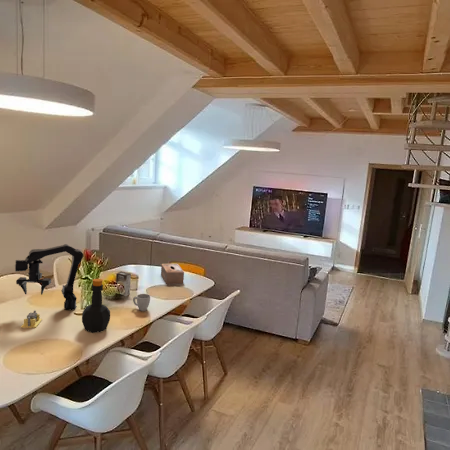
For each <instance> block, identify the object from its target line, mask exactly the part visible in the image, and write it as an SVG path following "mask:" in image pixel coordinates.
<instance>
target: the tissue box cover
mask: <svg viewBox="0 0 450 450" xmlns="http://www.w3.org/2000/svg"><path fill="white" fill-rule="evenodd" d="M160 275H161V278H162V279H163V281H164V282H165V284H168V285H169V284H170V285H171V284H172V285H173V284H184V279H185V278H184V277H185V271H184V270H183V269H182V267H181V266H180V265H179V264H178V263H161V269H160Z"/></svg>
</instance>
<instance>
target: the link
mask: <svg viewBox="0 0 450 450" xmlns="http://www.w3.org/2000/svg"><path fill="white" fill-rule="evenodd" d="M37 314H38V312H36V313H33V312H29V313H28V314H27V315H26V319H28V317H30V319H36V321H37Z"/></svg>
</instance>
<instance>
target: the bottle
mask: <svg viewBox="0 0 450 450" xmlns="http://www.w3.org/2000/svg"><path fill="white" fill-rule="evenodd" d="M103 290H104V285H103V279H102V278H93V279H92V285H91V292H92V294H91V304H90V305H87V306H86V307H84V309H83V311H82V312H81V313H82V315H81V322H82V325H83V328H84V331H85V332H88V333H92V334H94V333H95V334H96V333H97V334H98V333H102V332H105V331H106V330H107V329H108V325H109V323H110V320H111V311H110V309H109V307H108V306H106V305H105V304H103V293H102V291H103Z"/></svg>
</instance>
